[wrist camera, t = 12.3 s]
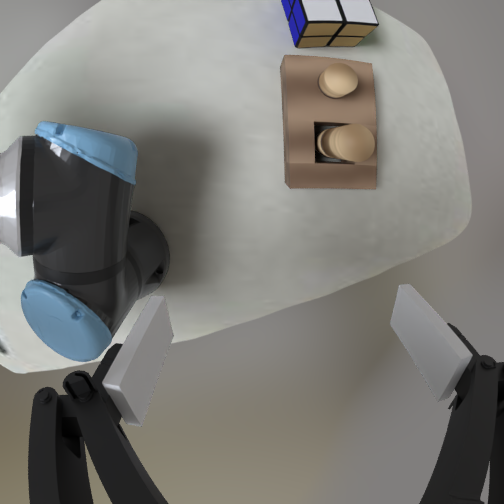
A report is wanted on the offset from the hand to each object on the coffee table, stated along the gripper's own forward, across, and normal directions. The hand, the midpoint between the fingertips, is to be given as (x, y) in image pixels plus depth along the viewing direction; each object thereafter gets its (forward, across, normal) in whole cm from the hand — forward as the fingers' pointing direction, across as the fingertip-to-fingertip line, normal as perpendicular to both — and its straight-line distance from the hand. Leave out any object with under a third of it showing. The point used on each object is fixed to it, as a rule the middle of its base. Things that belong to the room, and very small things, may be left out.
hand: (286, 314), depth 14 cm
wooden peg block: (+29, +9, +12) cm, 32 cm away
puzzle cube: (+29, +10, +30) cm, 43 cm away
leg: (+29, +9, +9) cm, 31 cm away
